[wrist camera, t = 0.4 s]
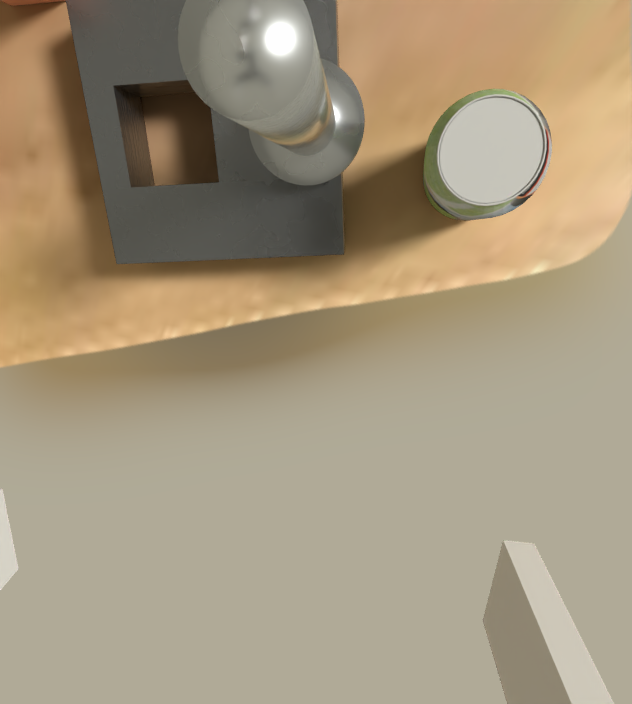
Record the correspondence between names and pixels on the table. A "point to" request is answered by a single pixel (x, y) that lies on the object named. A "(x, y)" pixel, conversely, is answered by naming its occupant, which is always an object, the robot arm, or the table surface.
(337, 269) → the table surface
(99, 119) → the socket base with post
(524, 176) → the beverage can
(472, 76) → the table surface
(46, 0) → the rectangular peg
